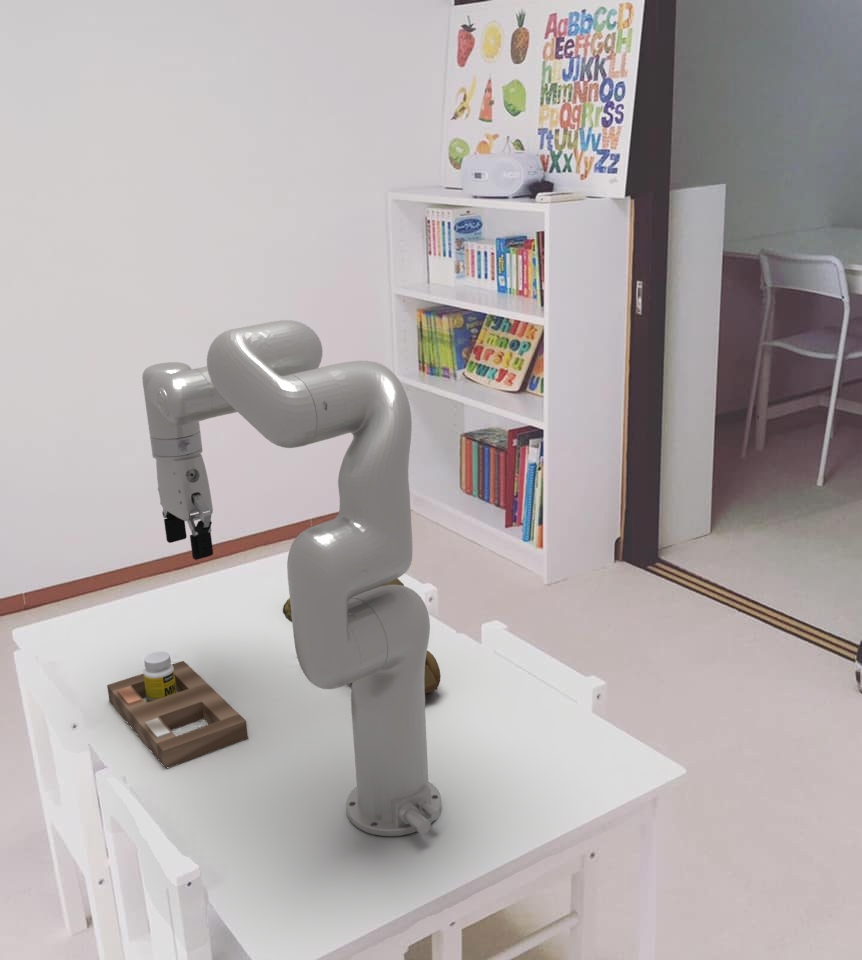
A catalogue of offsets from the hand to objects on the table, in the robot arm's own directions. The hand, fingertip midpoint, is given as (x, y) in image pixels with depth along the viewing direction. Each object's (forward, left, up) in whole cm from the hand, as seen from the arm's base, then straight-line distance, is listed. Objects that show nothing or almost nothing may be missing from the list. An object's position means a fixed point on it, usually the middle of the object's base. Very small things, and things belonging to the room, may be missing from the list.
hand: (189, 548), depth 170 cm
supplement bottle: (-1, +8, -24) cm, 26 cm away
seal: (+14, -27, -25) cm, 39 cm away
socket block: (-7, +8, -24) cm, 27 cm away
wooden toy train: (-18, -23, -25) cm, 38 cm away
